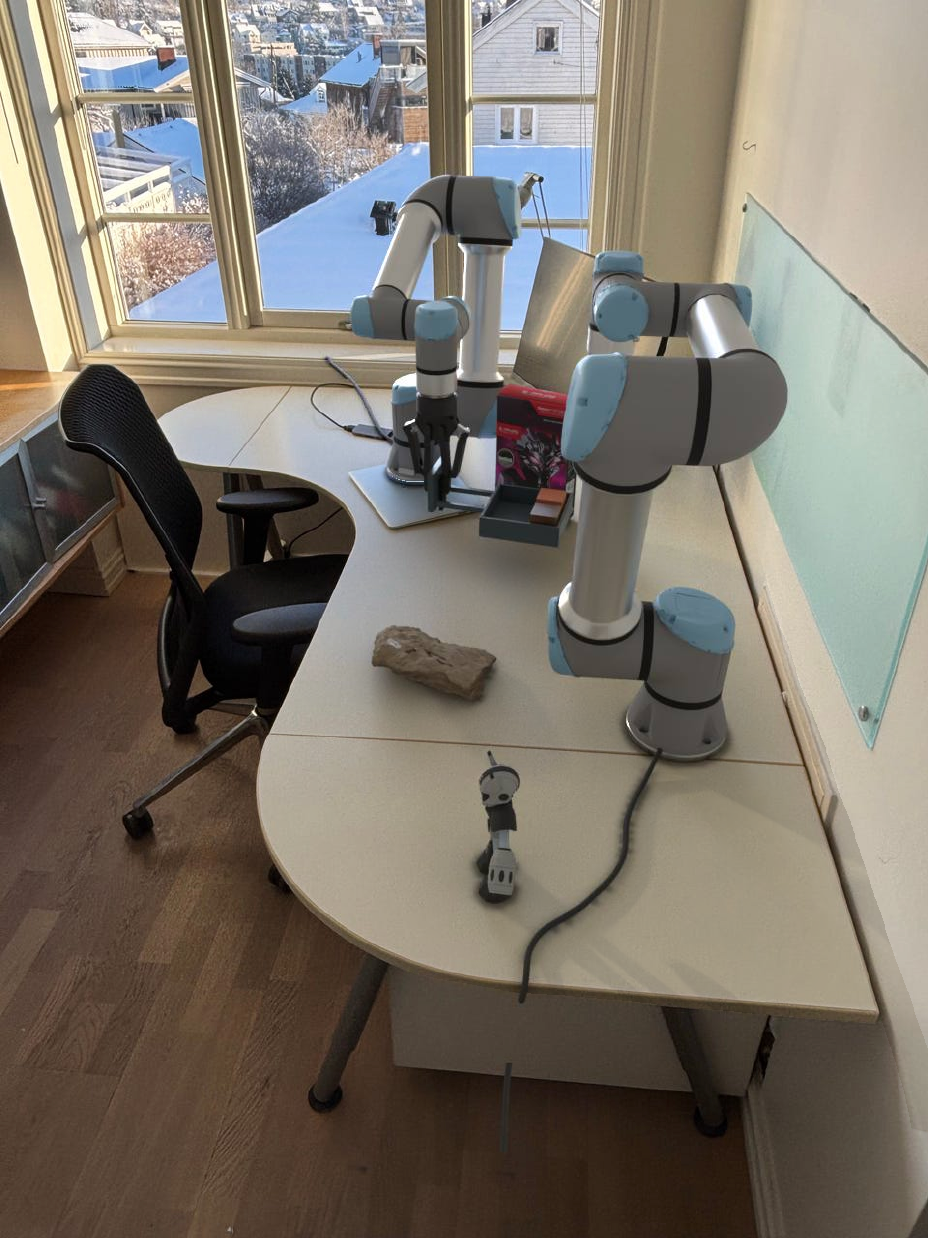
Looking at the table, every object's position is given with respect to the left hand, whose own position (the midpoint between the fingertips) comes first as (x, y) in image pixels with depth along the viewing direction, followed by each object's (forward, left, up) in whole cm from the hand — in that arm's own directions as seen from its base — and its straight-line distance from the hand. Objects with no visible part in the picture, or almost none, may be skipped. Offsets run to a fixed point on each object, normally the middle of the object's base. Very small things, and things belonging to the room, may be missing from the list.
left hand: (437, 506), depth 182 cm
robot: (+83, +14, -11) cm, 85 cm away
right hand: (+17, +29, +15) cm, 37 cm away
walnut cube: (+9, +21, -1) cm, 23 cm away
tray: (+3, +12, -1) cm, 13 cm away
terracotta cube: (+2, +22, -1) cm, 22 cm away
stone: (+40, +2, -11) cm, 42 cm away
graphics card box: (-19, +19, -11) cm, 29 cm away
